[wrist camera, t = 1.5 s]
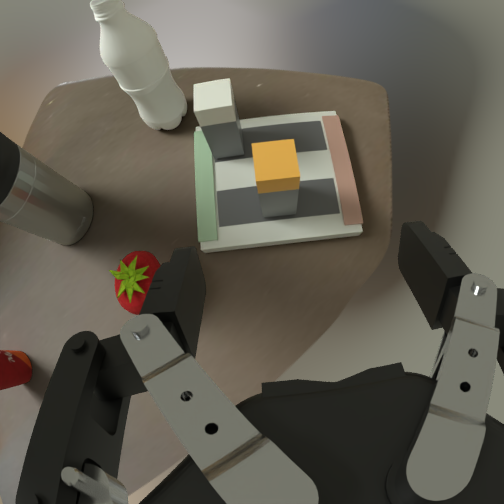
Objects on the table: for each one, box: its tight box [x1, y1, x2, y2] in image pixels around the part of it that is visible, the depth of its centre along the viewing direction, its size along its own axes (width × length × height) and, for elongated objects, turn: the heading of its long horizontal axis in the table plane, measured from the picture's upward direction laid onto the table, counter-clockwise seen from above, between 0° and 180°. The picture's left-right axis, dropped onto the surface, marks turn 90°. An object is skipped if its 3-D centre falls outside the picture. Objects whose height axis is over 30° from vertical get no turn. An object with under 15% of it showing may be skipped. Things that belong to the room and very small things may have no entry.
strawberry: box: [109, 251, 160, 315], centre depth 36 cm, size 6×8×10 cm
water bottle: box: [90, 0, 187, 130], centre depth 34 cm, size 7×7×25 cm
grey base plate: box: [194, 78, 363, 253], centre depth 36 cm, size 20×18×13 cm
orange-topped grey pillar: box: [252, 139, 300, 218], centre depth 34 cm, size 4×4×11 cm
